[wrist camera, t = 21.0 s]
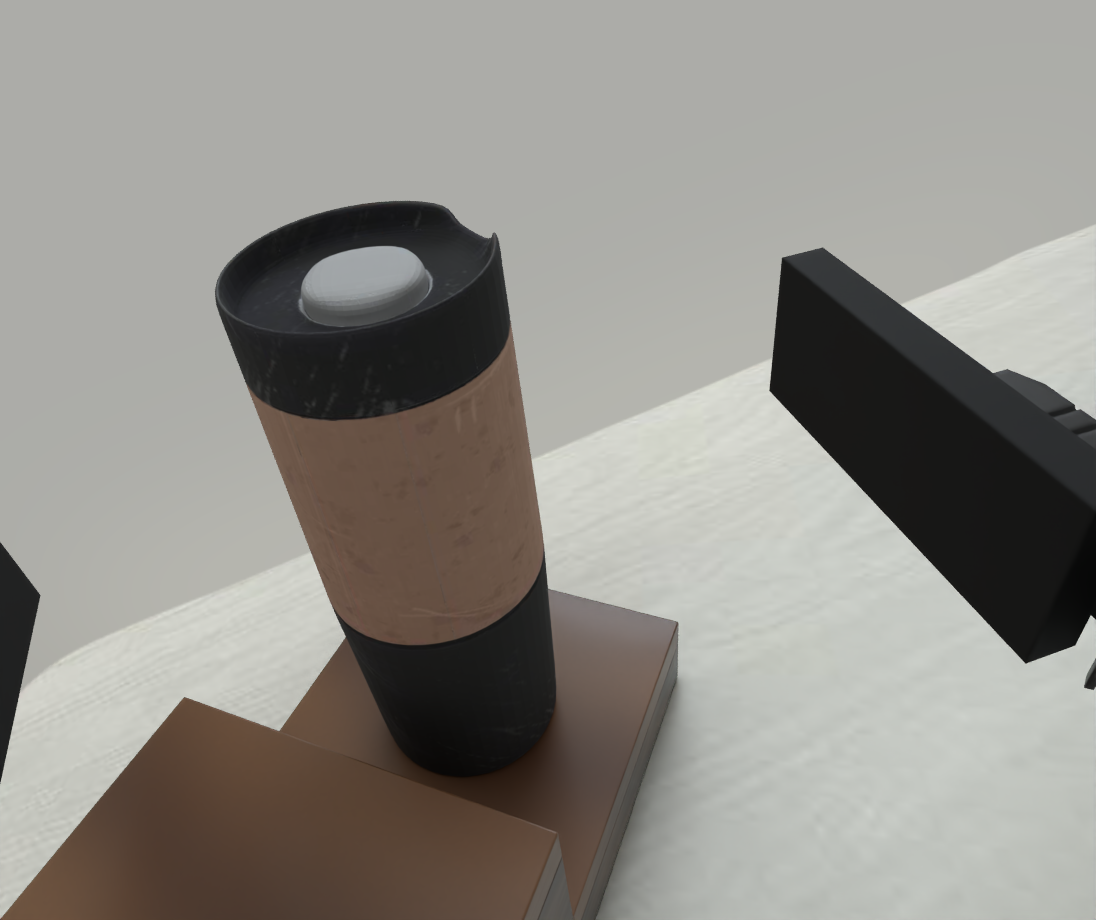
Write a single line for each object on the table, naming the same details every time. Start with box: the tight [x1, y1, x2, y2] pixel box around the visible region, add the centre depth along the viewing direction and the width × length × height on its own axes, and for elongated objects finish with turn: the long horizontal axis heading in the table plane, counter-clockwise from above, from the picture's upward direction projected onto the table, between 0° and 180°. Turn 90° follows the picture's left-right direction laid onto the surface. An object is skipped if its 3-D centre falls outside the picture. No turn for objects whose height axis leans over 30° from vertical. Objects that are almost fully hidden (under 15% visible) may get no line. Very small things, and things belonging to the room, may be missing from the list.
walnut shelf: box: [0, 589, 678, 920], centre depth 31 cm, size 22×14×10 cm, turn 158°
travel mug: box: [215, 201, 556, 777], centre depth 28 cm, size 8×8×20 cm
